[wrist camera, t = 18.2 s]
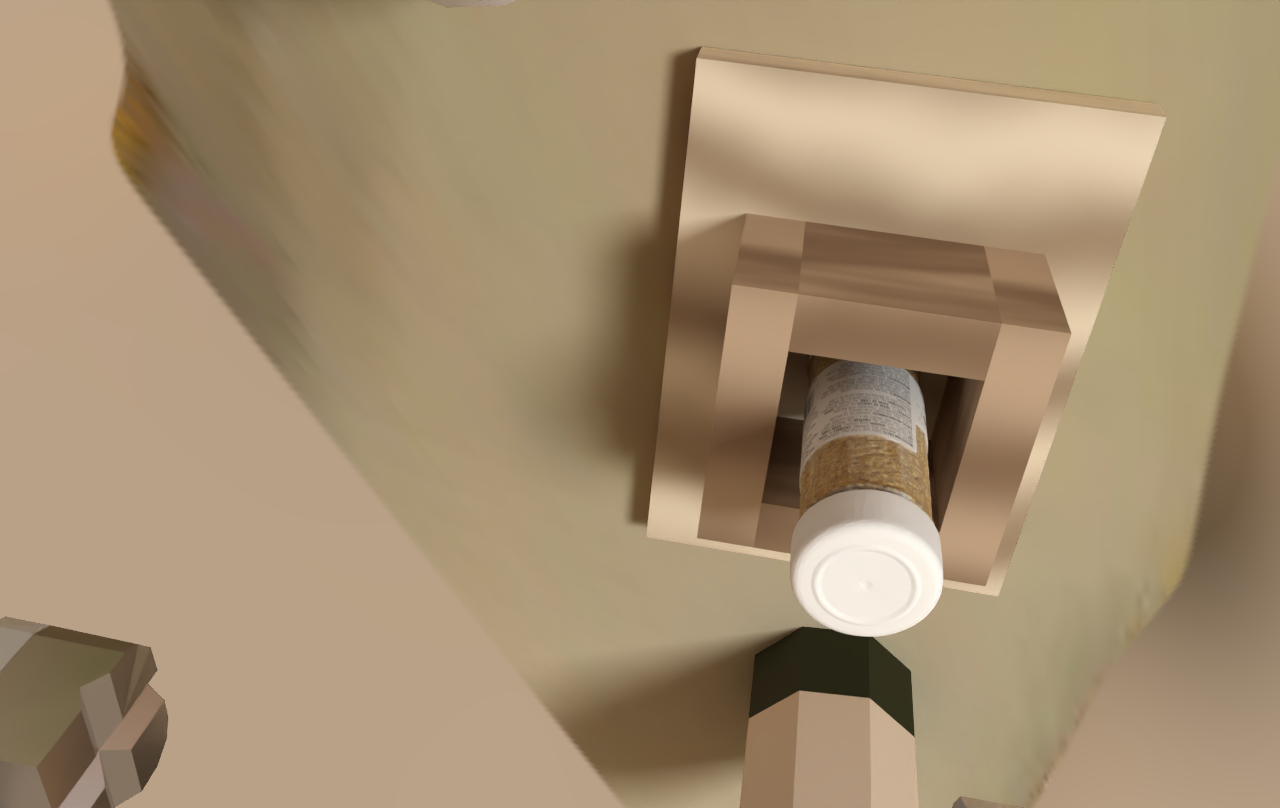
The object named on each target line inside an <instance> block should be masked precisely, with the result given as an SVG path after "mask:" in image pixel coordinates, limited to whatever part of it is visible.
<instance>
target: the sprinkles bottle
mask: <svg viewBox="0 0 1280 808" xmlns="http://www.w3.org/2000/svg"><path fill="white" fill-rule="evenodd" d="M807 374H808V377H809V387H808V393H807V396H806V401H805V411H804V425H803V439H802V455H801V467H800V483H799V486H800V493H801V496H800V509H799V521H798V523H797V524H796V527H795V529H794V532H793V535H792V541H791V555H790V581H791V586H792V590H793V593H794V595H795V597H796V599H797V601H798V602H799V604H800V605H801V606H802V608H803V609H804V610H805V611H806V612H807V613H808V614H809V615H810V616H811V617H812V618H814V619H815V620H816V621H818V622H819V623H821V624H822V625H824V626H826V627H828V628H830V629H833V630H835V631H838V632H841V633H845V634H849V635H855V636H865V637H877V636H884V635H890V634H894V633H897V632H900V631H903V630H905V629H908V628H909V627H911V626H913V625H915V624H917V623H918V622H919V621H921V620H922V619H923V618H925V617H926V616H927V615H928V614H929V613H930V612H931V610H932V609H933V608H934V607H935V605H936V603H937V601H938V599H939V597H940V595H941V592H942V587H943V561H942V551H941V542H940V537H939V533H938V531H937V529H936V527H935V525H934V522H933V520H932V508H931V493H930V481H929V468H928V460H927V459H928V457H927V453H928V439H927V427H926V415H925V406H924V399H923V395H922V392H921V385H920V374H921V371H915V370H909V369H902V368H895V367H889V366H882V365H875V364H869V363H862V362H855V361H849V360H842V359H835V358H829V357H822V356H815V355H809V354H808V361H807Z"/></svg>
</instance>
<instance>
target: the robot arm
mask: <svg viewBox="0 0 1280 808" xmlns="http://www.w3.org/2000/svg"><path fill="white" fill-rule="evenodd" d="M156 672H157V667H156V664H155V661H154V657H153V654H152V650H151V648H150V647H147V646H143V645H138V644H133V643H129V642H124V641H120V640H115V639H110V638H106V637H101V636H97V635H92V634H88V633H83V632H78V631H73V630H69V629H64V628H60V627H55V626H51V625H45V624H40V623H35V622H29V621H25V620H20V619H15V618H10V617H4V618H2V619H0V808H115V807H116V806H118V805H119V804H121V803H123V802H124V801H126V800H128V799H129V798H131V797H133V796H134V795H136V794H138V793H139V792H141V791H142V790H143V788H144V787H145V785H146V783H147V782H148V780H149V779H150V777H151V775H152V774H153V772H154V771H155V769H156V767H157V765H158V762H159V759H160V757H161V754H162V751H163V748H164V745H165V742H166V739H167V727H168V715H167V709H166V705H165V700H164V699H163V698H162V697H161V696H160V695H159V694H158V693H157V692H156V691H155V690H154V689H153V688H152V687H151V686H150V685H149V684H148V683H149V681H150V680H151V679H152V677H153V676H154V674H155V673H156ZM952 808H1024V807H1019V806H1013V805H1007V804H1001V803H995V802H990V801H984V800H978V799H972V798H967V797H961V796H960V797H959V798H958V799H957V800H956V801H955V802H954V804H953V807H952Z"/></svg>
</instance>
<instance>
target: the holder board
mask: <svg viewBox="0 0 1280 808" xmlns="http://www.w3.org/2000/svg"><path fill="white" fill-rule="evenodd" d="M1165 120H1166V116H1165V115H1164V113H1163V112H1162V110H1161V109H1160V108H1159V106H1158V105H1157V104H1156V103H1149V102H1141V101H1133V100H1125V99H1117V98H1109V97H1101V96H1093V95H1085V94H1077V93H1069V92H1061V91H1053V90H1045V89H1037V88H1029V87H1021V86H1013V85H1005V84H997V83H989V82H981V81H973V80H965V79H957V78H949V77H941V76H933V75H925V74H917V73H909V72H901V71H893V70H885V69H877V68H869V67H861V66H853V65H845V64H837V63H829V62H821V61H813V60H805V59H797V58H789V57H781V56H773V55H765V54H757V53H749V52H741V51H733V50H725V49H716V48H708V47H701V49H700V52H699V54H698V56H697V60H696V70H695V79H694V88H693V98H692V107H691V117H690V126H689V136H688V145H687V155H686V164H685V174H684V183H683V193H682V202H681V212H680V221H679V231H678V240H677V250H676V259H675V269H674V278H673V288H672V297H671V307H670V316H669V326H668V335H667V345H666V354H665V364H664V373H663V383H662V392H661V402H660V411H659V421H658V430H657V440H656V449H655V459H654V468H653V478H652V487H651V497H650V506H649V515H648V525H647V534H646V537H649V538H655V539H661V540H667V541H673V542H679V543H685V544H691V545H696V546H702V547H708V548H714V549H720V550H726V551H732V552H738V553H744V554H750V555H756V556H762V557H768V558H774V559H780V560H786V561H790V555H791V541H792V535H793V532H794V529H795V527H796V524H797V523H798V521H799V509H800V496H801V493H800V486H799V483H800V467H801V455H802V439H803V425H804V411H805V401H806V396H807V393H808V387H809V377H808V374H807V361H808V354H809V355H815V356H822V357H829V358H835V359H842V360H849V361H855V362H862V363H869V364H875V365H882V366H889V367H895V368H902V369H909V370H915V371H921V374H920V385H921V392H922V395H923V399H924V406H925V415H926V427H927V439H928V453H927V457H928V459H927V460H928V468H929V481H930V493H931V508H932V520H933V522H934V525H935V527H936V529H937V531H938V533H939V537H940V542H941V551H942V561H943V587H946V588H952V589H958V590H964V591H970V592H976V593H982V594H988V595H994V596H998V595H999V592H1000V589H1001V587H1002V584H1003V581H1004V578H1005V575H1006V572H1007V569H1008V567H1009V564H1010V561H1011V558H1012V555H1013V552H1014V550H1015V547H1016V544H1017V541H1018V538H1019V535H1020V532H1021V530H1022V527H1023V524H1024V521H1025V518H1026V515H1027V513H1028V510H1029V507H1030V504H1031V501H1032V498H1033V496H1034V493H1035V490H1036V487H1037V484H1038V481H1039V478H1040V476H1041V473H1042V470H1043V467H1044V464H1045V461H1046V459H1047V456H1048V453H1049V450H1050V447H1051V444H1052V441H1053V439H1054V436H1055V433H1056V430H1057V427H1058V424H1059V422H1060V419H1061V416H1062V413H1063V410H1064V407H1065V404H1066V402H1067V399H1068V396H1069V393H1070V390H1071V387H1072V385H1073V382H1074V379H1075V376H1076V373H1077V370H1078V367H1079V365H1080V362H1081V359H1082V356H1083V353H1084V350H1085V348H1086V345H1087V342H1088V339H1089V336H1090V333H1091V331H1092V328H1093V325H1094V322H1095V319H1096V316H1097V313H1098V311H1099V308H1100V305H1101V302H1102V299H1103V296H1104V294H1105V291H1106V288H1107V285H1108V282H1109V279H1110V276H1111V274H1112V271H1113V268H1114V265H1115V262H1116V259H1117V257H1118V254H1119V251H1120V248H1121V245H1122V242H1123V239H1124V237H1125V234H1126V231H1127V228H1128V225H1129V222H1130V220H1131V217H1132V214H1133V211H1134V208H1135V205H1136V203H1137V200H1138V197H1139V194H1140V191H1141V188H1142V185H1143V183H1144V180H1145V177H1146V174H1147V171H1148V168H1149V166H1150V163H1151V160H1152V157H1153V154H1154V151H1155V148H1156V146H1157V143H1158V140H1159V137H1160V134H1161V131H1162V129H1163V126H1164V123H1165Z"/></svg>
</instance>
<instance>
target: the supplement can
mask: <svg viewBox="0 0 1280 808" xmlns="http://www.w3.org/2000/svg"><path fill="white" fill-rule="evenodd" d="M427 1H430V2H433V3H436V4H439V5H441V6H444V7H447V8H450V7H483V6H505V5H507V4H509V3H511V2H514V1H516V0H427Z"/></svg>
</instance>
